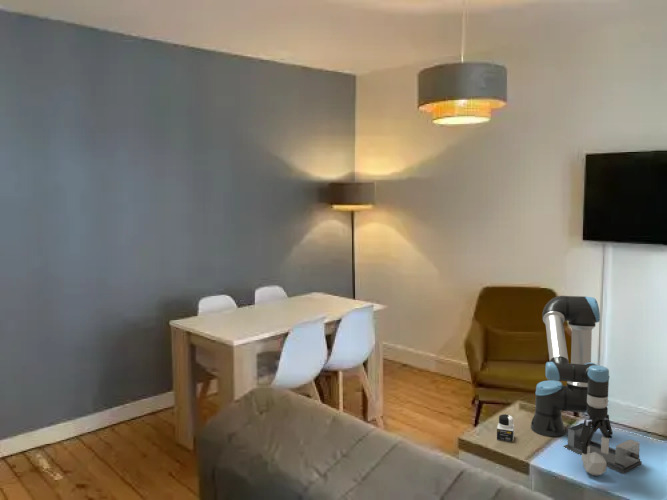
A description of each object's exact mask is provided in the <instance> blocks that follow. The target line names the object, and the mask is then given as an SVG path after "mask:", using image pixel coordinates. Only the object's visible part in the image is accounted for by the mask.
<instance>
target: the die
mask: <svg viewBox="0 0 667 500" xmlns="http://www.w3.org/2000/svg"><path fill="white" fill-rule="evenodd" d="M606 463H607V462H606V461H605V459H604V458H603V456H601V455H600V454H598V453H596V452H593V453H590V457H589V463H587V462H585V461H582V465H583V467H584V470H585V472H587V473H588V474H590V475H592V476H594V475H595V477H597V476H601V475H603V474H604V473H605V472H606V471H607V467H606Z"/></svg>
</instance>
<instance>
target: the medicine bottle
mask: <svg viewBox="0 0 667 500" xmlns="http://www.w3.org/2000/svg"><path fill="white" fill-rule="evenodd" d="M496 440H497V441H503V442H508V443H514V440H515V424H514V418H513V416H511V415H509V414H500V415H499V416H498V423H497V427H496Z"/></svg>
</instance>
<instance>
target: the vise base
mask: <svg viewBox="0 0 667 500" xmlns="http://www.w3.org/2000/svg"><path fill="white" fill-rule="evenodd" d="M583 426H584V422H582V423H579V424H576V425H573V426H572V427H569V428H567V444H565V445H563V446H562V447H565V448H567V449H566V450H568V451H570V450H571V451H570V452H572V451H573V452H572V453H574V452H575V453H574V454H577V455H579V454H580V455H579V456H581V455H582V445H580V444H579V439H580V436H581V433H582V429H583ZM589 446H590V453H593V452H596V453H598V454H600V455H601V456H603V458H604V459H605V461H606V462H607V463H606V468H607V469H610V470H613V471H616V472H617V473H619V474H622V475H625V474H627V473H630V472H631V471H632V470H634V469H636V468H638V467H641V466H642V465H643V463H642V461H641V458H639V461H638V462H636V463H634V464H632V465H630V466H628V467H626V468H624V467H623V466H620V465H618V464H615V453H616V448H613V447H610V446H609V451H608V454H605V453H602V452H601V442H597V441H595V440H592V439H591V441H590V443H589ZM565 448H564V449H565Z"/></svg>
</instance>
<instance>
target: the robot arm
mask: <svg viewBox="0 0 667 500" xmlns="http://www.w3.org/2000/svg"><path fill="white" fill-rule="evenodd" d="M599 306H600V305H599V303H598V300H597V299H596V298H595V297H591V296H579V295H577V296H573V295H558V296H555V297H552V298H551V299H550V300H549V301H547V303H546V304H545V306H544V308H543V309H542V310H543V311H542V313H541V314H542V315H541V316H542V321H543V323H544V324H545V330H546V341H547V350H548V359H549V361H547V362H546V363H545V367H544V368H545V378H546V379H547V380H543V381H540V382H538V383H537V384H536V386H535V406H534V407H535V408H534V409H535V410H534V411H535V412H534V415H533V417H532V419H531V422H530V429H531V431H532V432H534V433H536V434H538V435H541V436H544V437H555V438H556V437H561V436H563V435H565V433H566V432H565V429H566V428H565V424H564V421H563V418H562V412H571V413H573V412H574V413H580V414H581V413H582V414H587V415H588V417H589V418H588V419H584V420H583V423H584V426H583V429H582V433H581V436H580V439H579V444H580V445H582V456H581V461H582V462H583V461H585V462H587V463H589V457H590V446H589V443H590V441H591V440H592V439H593V436H594V434H595V433H596V432H597V430H599V431H600V432H601V435H602V436H601V442H600V444H601V452H602V453H605V454H608V451H609V447H610V439H612V438H613V435H614V434H613V429H612V426H611V425H612V424H611V422H610V415H609V414H608V409H609V408H608V405H609V404H608V403H609V385H610V370H609V368H608V367H606V366H602V365H598V364H597V363H595V362H592V341H593V339H592V338H593V337H592V336H593V335H592V333H593V329H594V328H595V327H596V324H597V323H599V322H600V318H601V313H600V307H599ZM565 321H567V322H568V324H567V325H568V326H569V327H570V328H571V345H570V347H571V352H570V363H569V356H568V349H567V341H566V336H565V334H566V333H565V327H564V323H565ZM563 382H566V385H563Z"/></svg>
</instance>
